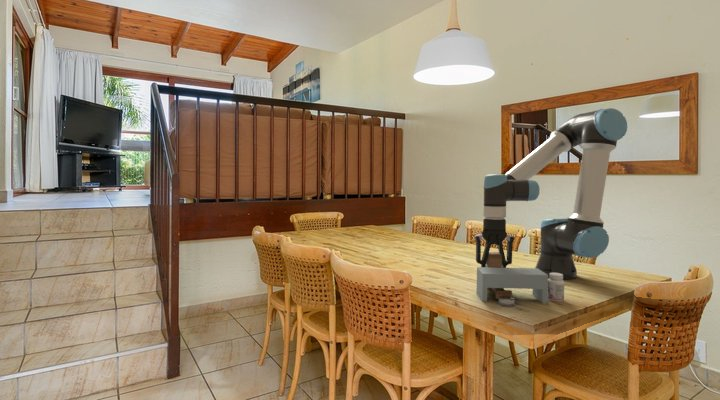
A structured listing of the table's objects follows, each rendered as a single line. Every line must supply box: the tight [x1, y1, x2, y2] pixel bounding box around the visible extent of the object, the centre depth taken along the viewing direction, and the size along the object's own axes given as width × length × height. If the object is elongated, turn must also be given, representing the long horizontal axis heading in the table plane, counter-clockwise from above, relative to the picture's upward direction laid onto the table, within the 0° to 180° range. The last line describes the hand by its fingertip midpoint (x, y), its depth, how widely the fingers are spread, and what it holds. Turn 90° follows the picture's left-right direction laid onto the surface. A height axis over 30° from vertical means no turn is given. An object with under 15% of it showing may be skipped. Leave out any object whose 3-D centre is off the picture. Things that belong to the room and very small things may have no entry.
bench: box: [476, 266, 549, 304], centre depth 126 cm, size 20×9×9 cm, turn 84°
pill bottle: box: [547, 273, 565, 302], centre depth 125 cm, size 5×5×8 cm
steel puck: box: [497, 296, 516, 308], centre depth 120 cm, size 5×5×2 cm
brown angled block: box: [486, 251, 513, 300], centre depth 131 cm, size 17×5×12 cm, turn 174°
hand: (493, 283), depth 137 cm, fingers closed on brown angled block, 4 cm apart
